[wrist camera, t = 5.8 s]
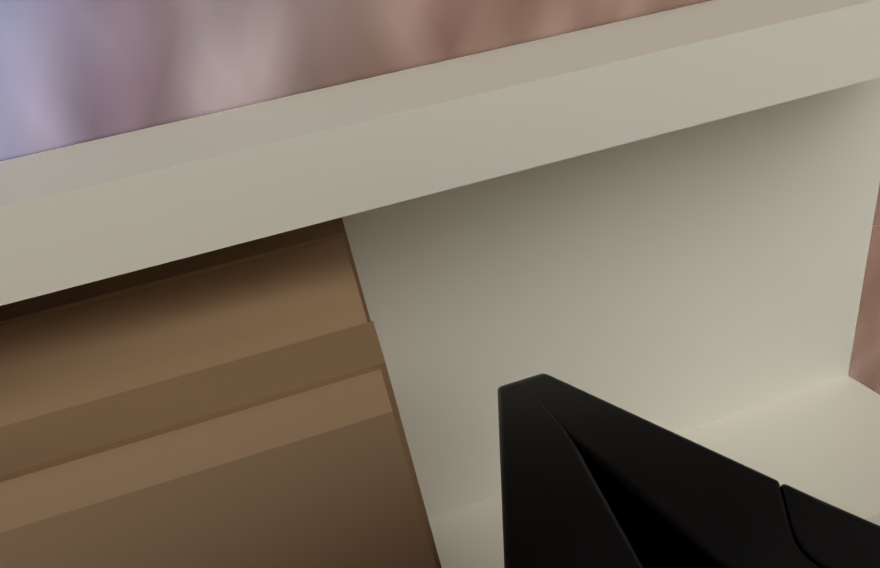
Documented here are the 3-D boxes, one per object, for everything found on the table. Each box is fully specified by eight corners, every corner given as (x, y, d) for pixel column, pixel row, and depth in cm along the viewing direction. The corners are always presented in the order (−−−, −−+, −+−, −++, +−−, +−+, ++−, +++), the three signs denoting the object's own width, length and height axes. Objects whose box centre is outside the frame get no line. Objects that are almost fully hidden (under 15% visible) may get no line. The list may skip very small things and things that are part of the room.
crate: (419, 500, 11) (510, 816, 7) (92, 610, 10) (-56, 1057, 6) (337, 204, 8) (397, 403, 4) (-117, 319, 7) (-702, 742, 3)
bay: (818, 405, 14) (1004, 536, 10) (35, 678, 11) (-80, 977, 8) (886, -73, 9) (1256, -136, 6) (-381, 202, 7) (-1103, 390, 3)
